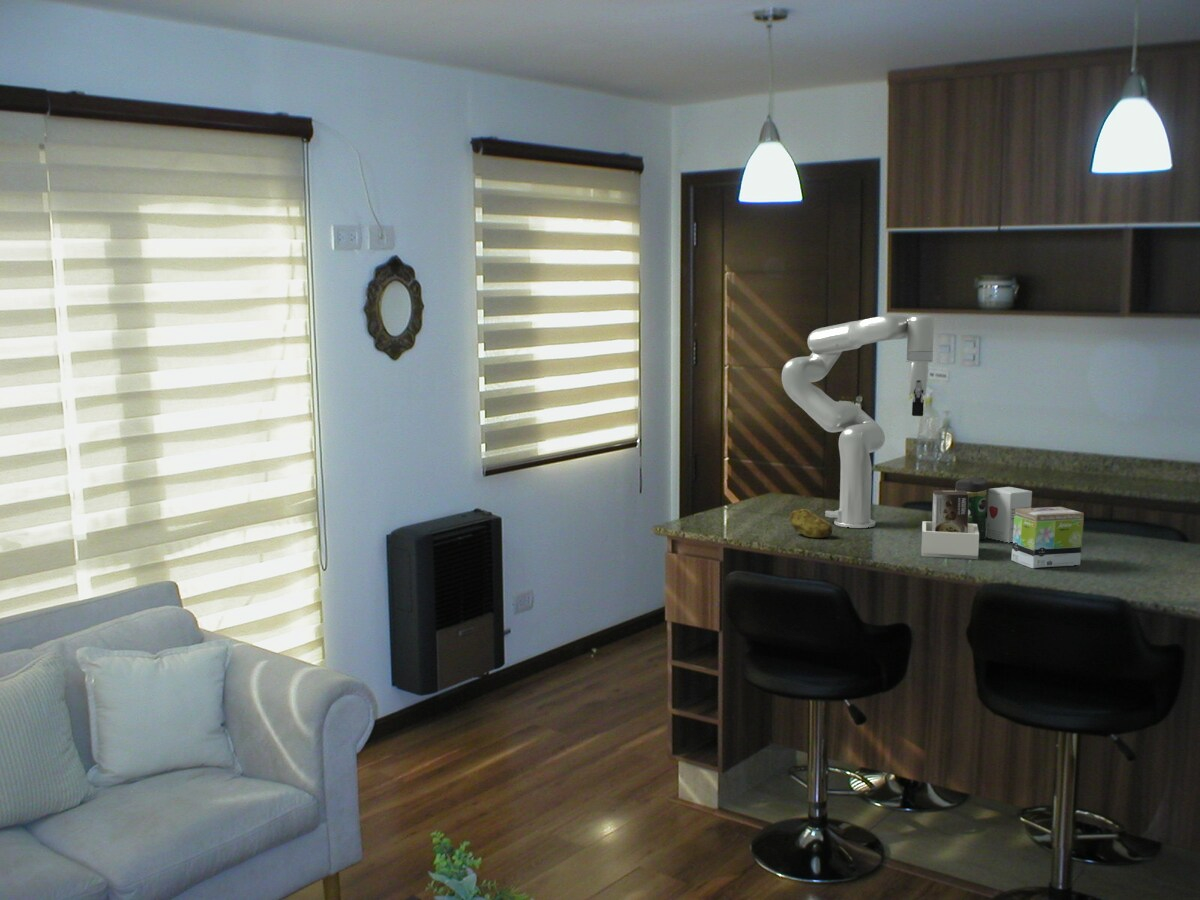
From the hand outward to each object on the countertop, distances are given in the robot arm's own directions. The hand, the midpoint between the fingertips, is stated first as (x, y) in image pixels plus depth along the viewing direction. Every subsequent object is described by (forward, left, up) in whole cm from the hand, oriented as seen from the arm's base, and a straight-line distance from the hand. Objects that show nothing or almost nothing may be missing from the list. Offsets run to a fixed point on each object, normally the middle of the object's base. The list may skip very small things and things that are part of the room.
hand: (917, 414), depth 351 cm
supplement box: (+27, -2, -36) cm, 45 cm away
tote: (+10, -24, -36) cm, 45 cm away
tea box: (+35, -32, -37) cm, 60 cm away
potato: (-30, -13, -37) cm, 49 cm away
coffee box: (+10, -24, -36) cm, 44 cm away
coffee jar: (+16, -5, -36) cm, 40 cm away
